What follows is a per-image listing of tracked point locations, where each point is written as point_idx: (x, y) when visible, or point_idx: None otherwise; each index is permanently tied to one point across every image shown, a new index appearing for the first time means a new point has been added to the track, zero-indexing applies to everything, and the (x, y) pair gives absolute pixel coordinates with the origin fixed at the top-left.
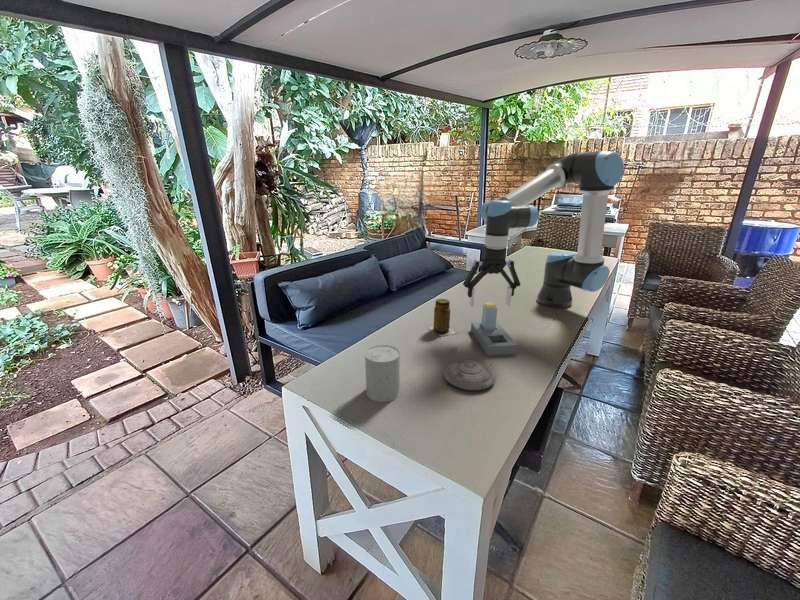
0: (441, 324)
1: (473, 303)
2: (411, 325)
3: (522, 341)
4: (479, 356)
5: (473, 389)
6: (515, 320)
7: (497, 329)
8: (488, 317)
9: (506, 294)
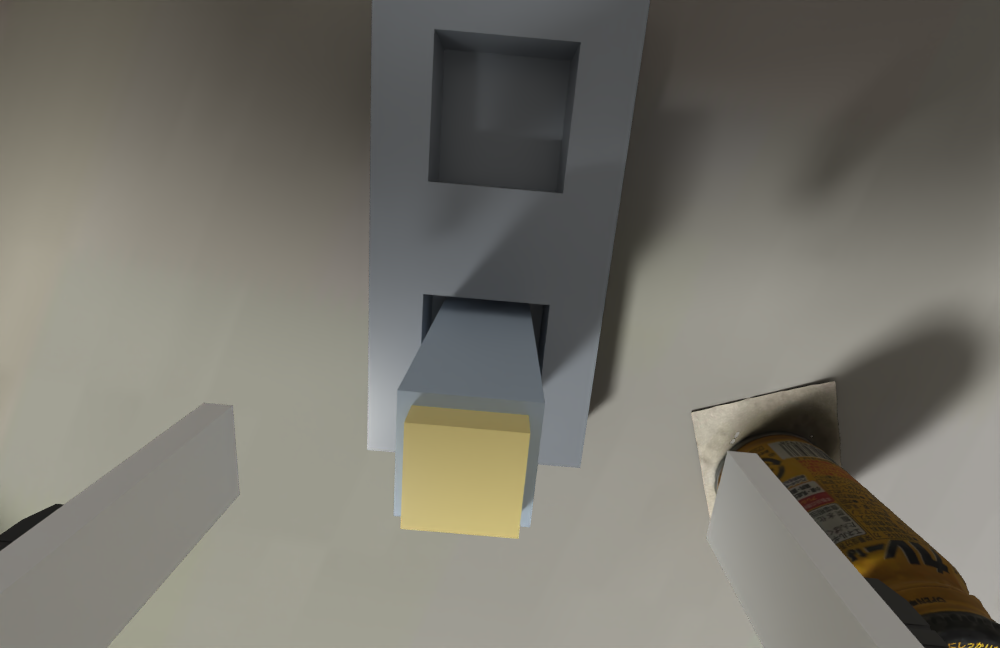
0: (837, 470)
1: (749, 479)
2: None
3: (262, 194)
4: (695, 11)
5: None
6: None
7: (423, 301)
8: (508, 355)
9: (153, 589)
